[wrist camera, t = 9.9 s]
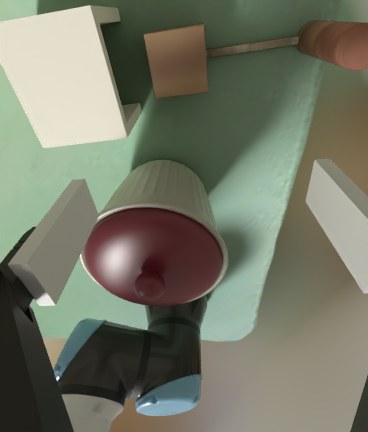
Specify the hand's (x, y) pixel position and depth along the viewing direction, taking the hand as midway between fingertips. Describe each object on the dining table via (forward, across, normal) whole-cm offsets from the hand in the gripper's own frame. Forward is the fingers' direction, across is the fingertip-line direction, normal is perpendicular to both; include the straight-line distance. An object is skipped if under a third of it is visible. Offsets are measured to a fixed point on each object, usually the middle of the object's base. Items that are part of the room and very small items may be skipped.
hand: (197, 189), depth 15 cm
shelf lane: (+24, +13, -4) cm, 28 cm away
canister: (+25, +6, +14) cm, 29 cm away
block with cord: (+24, -6, -5) cm, 25 cm away
